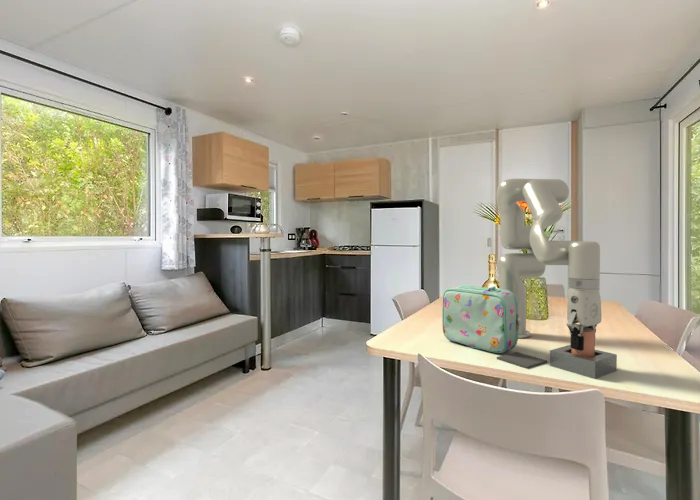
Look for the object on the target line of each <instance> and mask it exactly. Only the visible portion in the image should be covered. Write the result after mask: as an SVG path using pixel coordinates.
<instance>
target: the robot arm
mask: <svg viewBox="0 0 700 500" xmlns="http://www.w3.org/2000/svg"><path fill="white" fill-rule="evenodd" d="M569 195H570V189H569V186H568V184H567V183H566V182H565V181H564V180H562V179H561V178H559V179H557V178H555V179H554V178H508V179H505V180H502V181H501V182H500V183H499V184H498V186H497V190H496V195H495V197H496V204H497V207H498V211H499V221H500V224H499V225H500V244H501V246H502V247H503V248H504V249H505V250H512V251H513V250H515V251H516V250H519V251H521V250H523V251H524V250H526V251H527V253H526V252H525V253H524V252H515V253H514V252H511V253H509V252H508V253H504V254H501V256H499V257H498V259H497V261H496V268H497V274H498V280H499V289H505V290H508V291H510V292H512V293H513V294H514V295H515V296H516V298H517V301H518V315H519V316H518V318H520V322H521V326H519V335H518V339H525V338H530V336H531V332H530V331H529V330H527V288H526V286H525V284H524V283H523V281H522V279H523V278H526V279H527V278H531V279H532V278H540V277H541V276H543V275H544V273H545V271H546V266H568V272H567V273H568V274H567V275H568V278H567V279H568V280H567V281H568V285H567V286H568V287H567V288H568V290H569V291H568V297H567V298H568V299H567V308H566V309H567V310H566V312H567V313H566V315H567V316H566V318H567V319H566V320H567V322H566V326H567V328H568V330H569V334H570V345H571V348H572V349H576V350H580V351H582V350H584V336H582V333H583V328H584V327H588V328H591V329H592V330H594V331H595V334H596V332H597V328H596V327H597V325H599V324H600V323H601V322H602V300H601V294H600V288H601V285H600V284H601V281H600V279H601V277H600V275H601V274H600V273H601V272H600V271H601V266H600V265H601V246H600V243H599V242H597V241H590V240H589V241H588V240H587V241H586V240H585V241H584V240H582V241H581V240H549V239H548V237H547V236H546V233H545V230H544V229H546V228H548V227H551V226H553V225H555V224H556V223H558V222H559V221H560V220H561V219H562V217H563V212H564V211H563V209H562V208H561V206H560V204H563V203H565V202H566V201H567V200H568V198H569ZM517 202H525V203H526V205H527V207H528V209H529V211H530V213H531V215H532V218H533V220H534V222H533V223H532V225H528V224H527V225H526V223H525V213H524V211H523V209H522V208H521V206H520V205H519V203H517ZM577 327H579V330H578V329H577Z"/></svg>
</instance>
